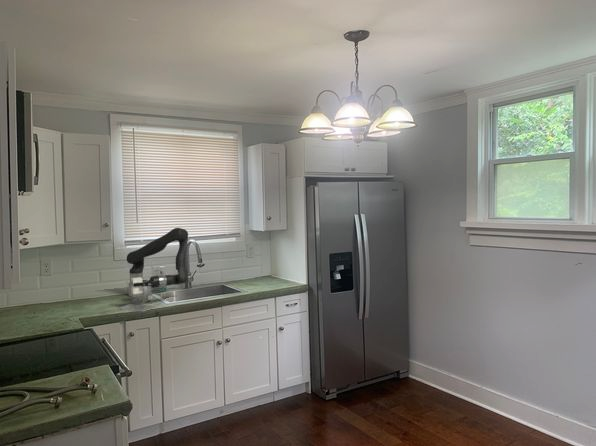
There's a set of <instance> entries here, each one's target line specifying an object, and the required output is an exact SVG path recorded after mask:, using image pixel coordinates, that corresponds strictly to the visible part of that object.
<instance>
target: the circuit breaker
mask: <svg viewBox="0 0 596 446" xmlns="http://www.w3.org/2000/svg"><path fill="white" fill-rule="evenodd" d="M151 295H152V287H151V286H144V287H143V293H139V294H133V297H132V304H139V305H145V303H147V302H149V296H151Z"/></svg>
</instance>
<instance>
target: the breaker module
mask: <svg viewBox="0 0 596 446" xmlns="http://www.w3.org/2000/svg"><path fill="white" fill-rule="evenodd" d="M140 282H142V278H141V277H137V278H131V282H130V281H129V283H130V286H131V293H132V294H139V293H143V287H142V286H136V287H134V285H133V284H134V283H140Z"/></svg>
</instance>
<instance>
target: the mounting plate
mask: <svg viewBox="0 0 596 446" xmlns="http://www.w3.org/2000/svg"><path fill="white" fill-rule="evenodd" d="M156 308H157V307H156V305H148V304H147V305H146V304H139V303H129V304H126V305H123V306H119V307H118V310H127V311H136V312H146V311H149V310H152V309H156Z"/></svg>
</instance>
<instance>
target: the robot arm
mask: <svg viewBox="0 0 596 446" xmlns="http://www.w3.org/2000/svg"><path fill="white" fill-rule="evenodd" d="M188 240H189V232H188V231H187V229H185V228H181V227H175V228H172V229H171V230H170V231H169V232H167V233H166V234H164V235H162V236H160V237H159V238H156V239H154V240H152V241H150V242H149V243H147V244H145V245H143V246H142V247H140V248H139V249H135V250H133V251H131V252H129V253H128V254H127V255H126V262H127V263H128V264H131V265H132V267H131V268H129V272H128V273H129V282H128V296H129V297H131V298H133V294H132V293H131V286H130V282H131V278H137V277H141V278H142V282H140V283H134V284H133V285H134V287H136V286H142V287H144V286H151V289H153V288H161V287H165V286H166V287H167V286H173V285H183V284H186V283H187V282H188V279H189V275H188V270H187V248H188ZM176 241H177V242H178V246H179V247H178V249H177V250H178V251H177V253H176V256H175V270H176V271H177V274H173V275H172V274H166V275H165V274H164V275H154V276H151V277H150V278H149V279H143V278H144V273H143V271H144V266H145V258H147V257H151V256H153V255H156V254H158V253H160V252H162V251H164V249H166V248H167V246H168V245H169V244H171V243H172V242H176Z"/></svg>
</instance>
